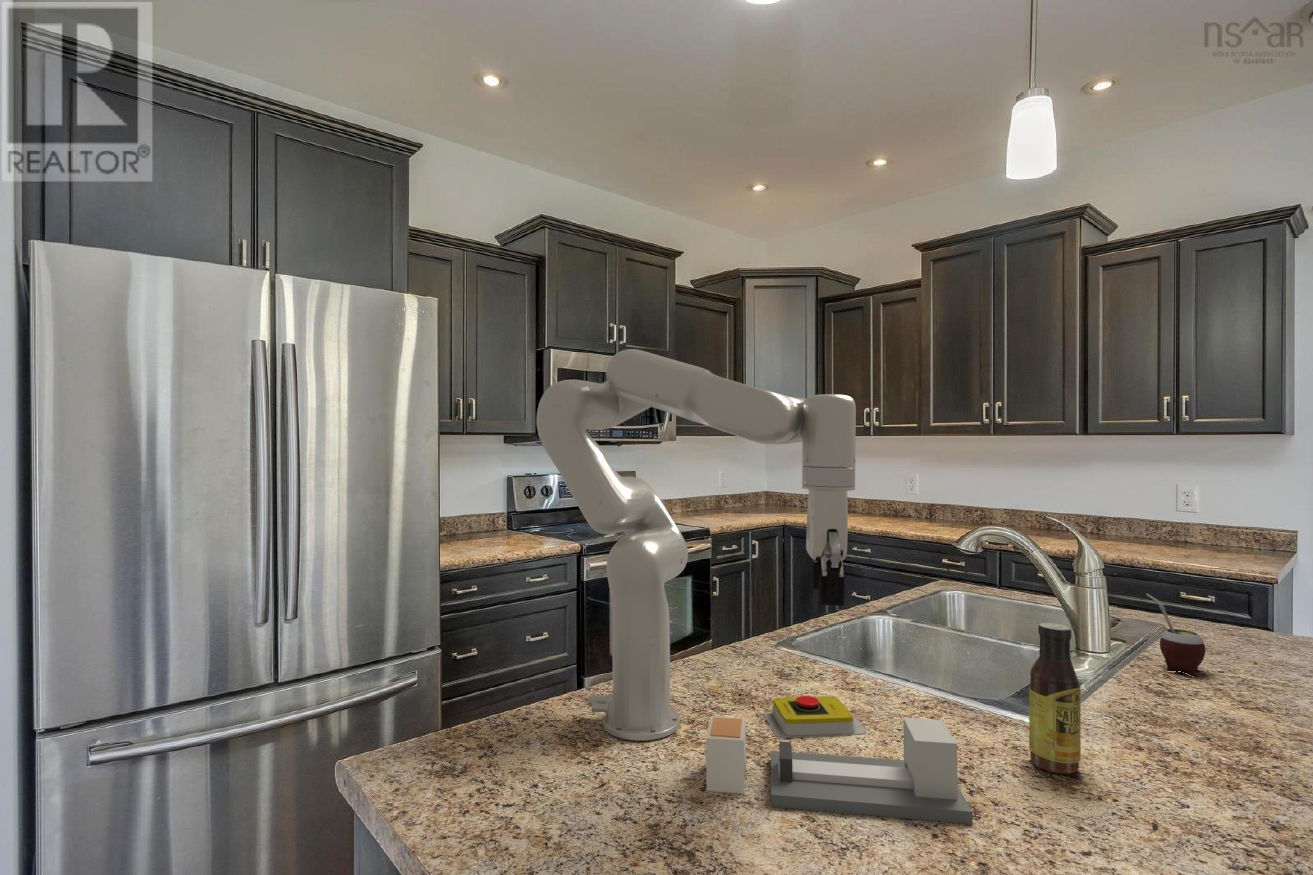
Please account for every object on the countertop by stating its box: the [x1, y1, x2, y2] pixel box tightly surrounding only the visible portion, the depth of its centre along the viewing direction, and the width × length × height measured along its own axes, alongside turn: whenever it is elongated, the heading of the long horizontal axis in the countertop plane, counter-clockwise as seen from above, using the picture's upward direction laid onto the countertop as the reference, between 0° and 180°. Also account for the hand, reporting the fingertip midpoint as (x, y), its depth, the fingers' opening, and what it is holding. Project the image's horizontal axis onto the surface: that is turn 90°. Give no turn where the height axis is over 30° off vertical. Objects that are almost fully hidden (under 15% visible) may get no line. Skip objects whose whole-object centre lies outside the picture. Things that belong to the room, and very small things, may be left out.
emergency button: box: [763, 695, 868, 738], centre depth 106 cm, size 9×4×15 cm
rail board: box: [770, 717, 974, 825], centre depth 86 cm, size 24×12×8 cm, turn 80°
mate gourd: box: [1145, 593, 1206, 678], centre depth 129 cm, size 8×8×15 cm
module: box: [705, 715, 747, 795], centre depth 89 cm, size 5×7×7 cm
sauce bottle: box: [1028, 622, 1082, 775], centre depth 92 cm, size 6×6×20 cm
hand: (827, 596), depth 94 cm, fingers open, 9 cm apart
